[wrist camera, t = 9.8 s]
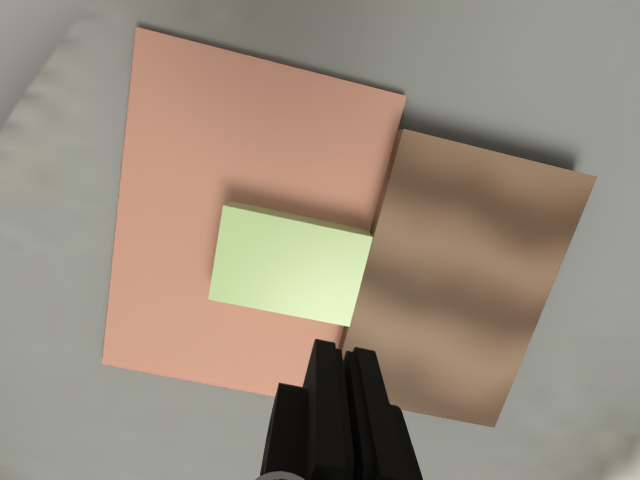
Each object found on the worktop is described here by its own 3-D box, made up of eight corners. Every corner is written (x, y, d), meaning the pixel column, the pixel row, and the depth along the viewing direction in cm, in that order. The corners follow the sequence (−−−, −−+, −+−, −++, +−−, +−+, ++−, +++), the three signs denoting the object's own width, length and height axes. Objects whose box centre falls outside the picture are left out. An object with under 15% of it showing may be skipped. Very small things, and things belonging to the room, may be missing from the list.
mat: (140, 29, 21) (135, 26, 20) (404, 97, 22) (406, 96, 21) (106, 360, 26) (102, 364, 25) (322, 401, 27) (322, 405, 27)
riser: (395, 130, 22) (403, 128, 20) (573, 174, 23) (597, 176, 21) (328, 378, 27) (329, 396, 25) (481, 407, 27) (494, 427, 25)
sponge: (230, 200, 23) (222, 205, 21) (368, 229, 23) (373, 237, 21) (216, 287, 24) (208, 299, 22) (346, 313, 25) (349, 326, 23)
